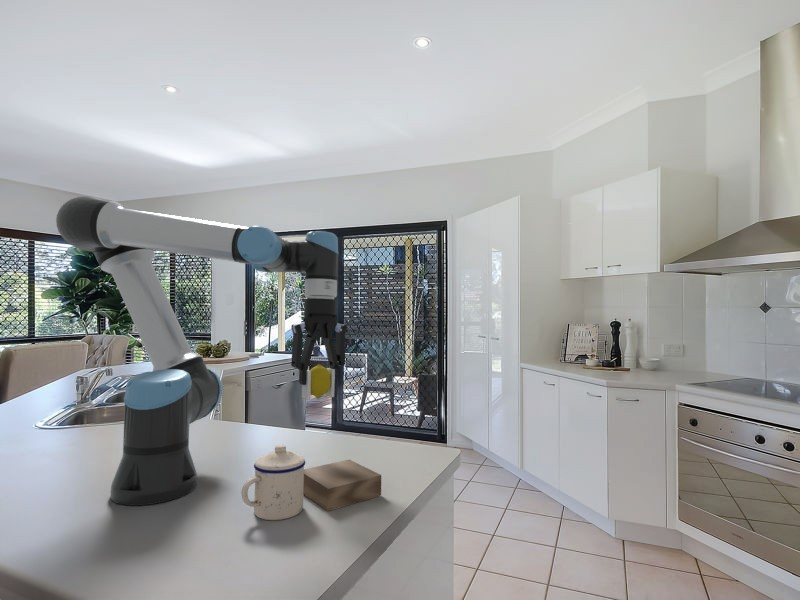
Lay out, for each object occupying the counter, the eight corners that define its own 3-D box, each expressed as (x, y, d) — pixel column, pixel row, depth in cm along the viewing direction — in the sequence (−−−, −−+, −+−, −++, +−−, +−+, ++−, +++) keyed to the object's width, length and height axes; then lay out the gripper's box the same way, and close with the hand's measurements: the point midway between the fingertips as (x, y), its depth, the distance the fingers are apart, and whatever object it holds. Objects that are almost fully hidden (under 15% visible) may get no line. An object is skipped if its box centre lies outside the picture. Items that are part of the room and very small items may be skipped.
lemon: (327, 401, 101) (328, 365, 101) (303, 400, 101) (304, 365, 101) (332, 396, 107) (332, 363, 107) (309, 396, 107) (309, 362, 107)
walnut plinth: (327, 511, 81) (328, 488, 81) (298, 490, 91) (299, 470, 91) (381, 495, 89) (381, 475, 89) (348, 477, 98) (349, 459, 98)
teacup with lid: (284, 496, 88) (286, 436, 88) (314, 509, 82) (315, 445, 82) (227, 516, 78) (229, 449, 79) (256, 533, 73) (258, 461, 73)
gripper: (291, 296, 96) (287, 404, 95) (362, 299, 108) (360, 396, 107) (276, 296, 102) (273, 399, 101) (346, 300, 113) (343, 391, 113)
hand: (318, 397), depth 104 cm, fingers closed on lemon, 5 cm apart
